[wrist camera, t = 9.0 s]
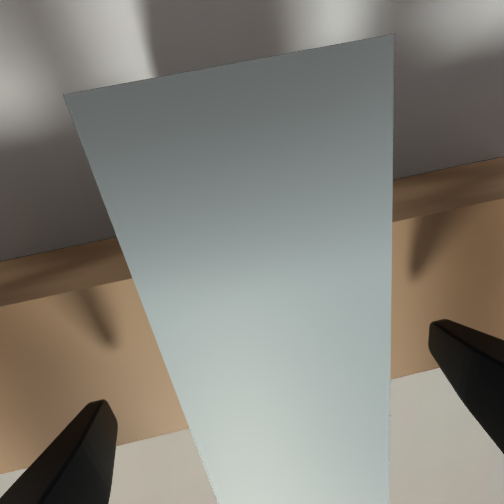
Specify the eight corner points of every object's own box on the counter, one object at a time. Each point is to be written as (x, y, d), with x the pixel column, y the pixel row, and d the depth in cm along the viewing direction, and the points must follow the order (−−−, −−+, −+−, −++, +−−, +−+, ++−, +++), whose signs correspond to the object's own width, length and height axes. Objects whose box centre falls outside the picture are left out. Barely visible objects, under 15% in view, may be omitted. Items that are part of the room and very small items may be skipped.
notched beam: (502, 157, 13) (620, 173, 9) (482, 283, 15) (570, 335, 12) (-55, 272, 12) (-174, 344, 8) (22, 389, 14) (-43, 484, 10)
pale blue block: (321, 410, 15) (388, 577, 10) (239, 430, 15) (259, 612, 9) (283, 82, 9) (394, 34, 4) (149, 108, 9) (63, 94, 4)
